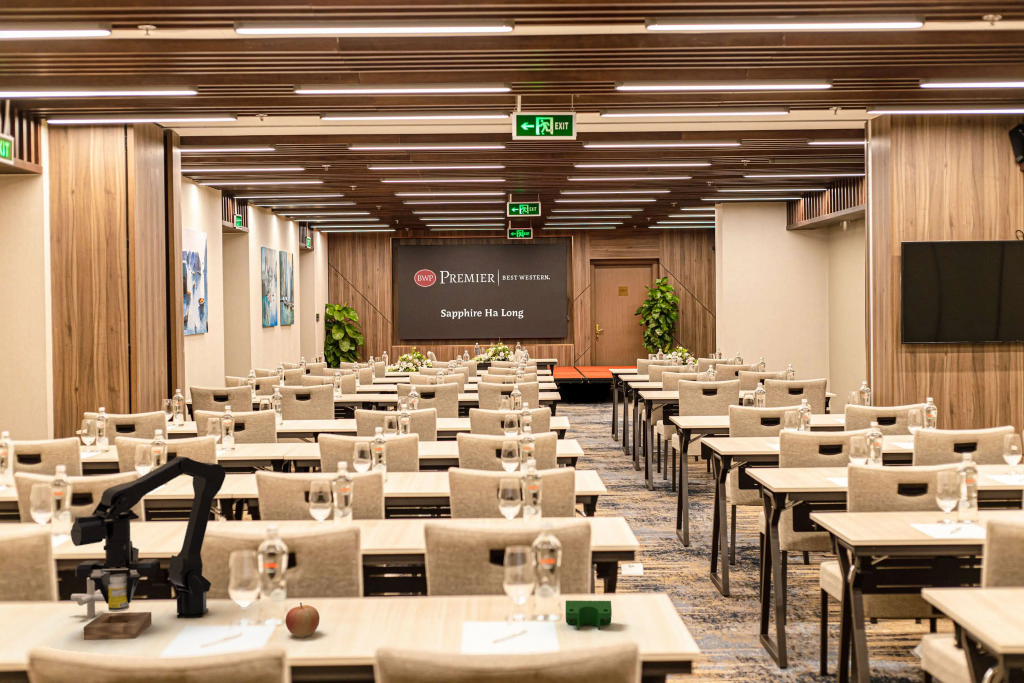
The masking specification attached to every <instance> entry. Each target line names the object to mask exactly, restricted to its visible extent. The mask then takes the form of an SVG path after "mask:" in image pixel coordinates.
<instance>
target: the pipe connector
mask: <svg viewBox="0 0 1024 683" xmlns="http://www.w3.org/2000/svg"><path fill="white" fill-rule="evenodd" d="M95 586H96V584H95V582H94V581H93V580H90V577H86V593H72V594H71V595H70V600H71V602H73V601H76V602H77V605H79V606H84V605H86V606H87V607H86V608H87V609H86V614H87V615H86V616H87V618H89V619H91V618H96V602H106V601H105V599H104V597H103V595H102V593H101V591H100V590H99V589H97V590H96V589H95V588H96V587H95Z"/></svg>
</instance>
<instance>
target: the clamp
mask: <svg viewBox="0 0 1024 683" xmlns="http://www.w3.org/2000/svg"><path fill="white" fill-rule="evenodd" d="M612 610H613V609H612V601H611V600H565V623H566V624H567V625H568V626H576V630H577V631H579V630H580V628H581V627H580V626H597V630H598V631H600V630H601V626H609V625H610V624H612V614H613V613H612V612H613V611H612Z"/></svg>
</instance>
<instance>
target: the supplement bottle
mask: <svg viewBox="0 0 1024 683" xmlns="http://www.w3.org/2000/svg"><path fill="white" fill-rule="evenodd" d="M127 577H128V575H127V573H115V574H114V573H113V574H110V576H109V585H108V604H107V605H108V607H107V608H108V612H110V613H121V612H124V611H127V610H129V609H130V603H128V601H127Z"/></svg>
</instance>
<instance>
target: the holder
mask: <svg viewBox="0 0 1024 683" xmlns="http://www.w3.org/2000/svg"><path fill="white" fill-rule="evenodd" d="M151 625H152V611H141V612H139V611H137V612H135V611H134V612H133V611H132V612H130V611H129V612H102V613H101V614H99V615H98V616H97V617H94V619H93V620H90V622H88V623H87V624H85V625H84V626H83V640H115V639H116V640H120V639H121V640H122V639H124V640H125V639H136V638H138V636H139V635H141V634H142V633H143V632H144V631H145V630H147V628H149V627H150V626H151Z"/></svg>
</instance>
